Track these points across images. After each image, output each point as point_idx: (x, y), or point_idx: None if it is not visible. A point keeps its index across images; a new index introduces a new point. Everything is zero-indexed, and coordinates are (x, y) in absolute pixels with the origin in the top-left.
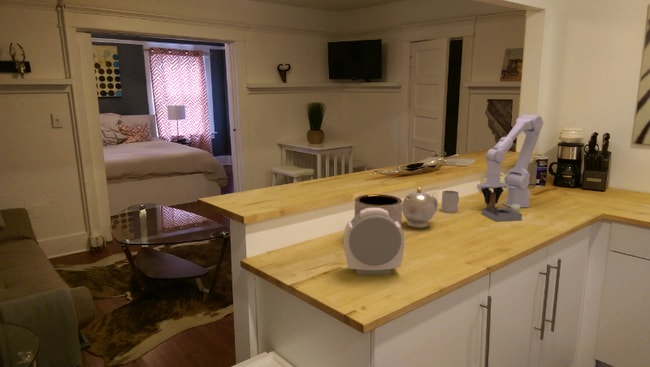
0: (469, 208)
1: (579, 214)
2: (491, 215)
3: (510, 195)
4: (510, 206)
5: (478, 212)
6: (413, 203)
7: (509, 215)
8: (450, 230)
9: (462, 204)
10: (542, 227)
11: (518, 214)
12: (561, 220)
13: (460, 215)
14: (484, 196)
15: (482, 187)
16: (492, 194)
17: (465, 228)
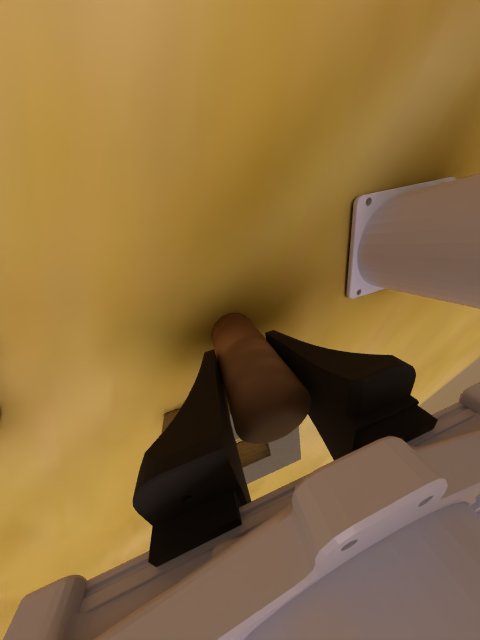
0: (97, 327)
1: (471, 346)
2: None
3: (430, 276)
4: (350, 287)
5: (151, 396)
6: None
7: (254, 479)
8: (18, 596)
9: (19, 197)
10: (307, 471)
11: (289, 463)
12: None
13: (39, 464)
14: (197, 387)
15: (133, 604)
16: (262, 437)
17: (77, 562)
